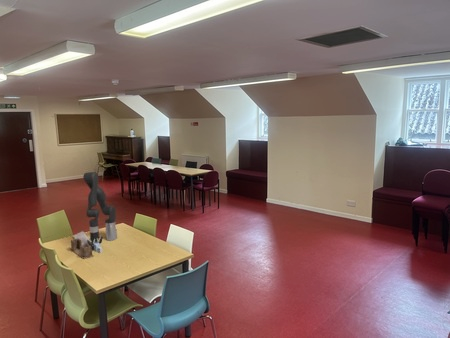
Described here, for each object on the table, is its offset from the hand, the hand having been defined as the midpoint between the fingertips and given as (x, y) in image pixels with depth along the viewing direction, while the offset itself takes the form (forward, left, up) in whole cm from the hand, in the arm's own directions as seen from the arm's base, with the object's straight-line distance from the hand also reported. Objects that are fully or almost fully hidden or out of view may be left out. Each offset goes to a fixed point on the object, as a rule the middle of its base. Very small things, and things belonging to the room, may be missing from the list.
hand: (95, 249), depth 289 cm
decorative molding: (0, -30, -1) cm, 30 cm away
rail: (0, 0, 0) cm, 0 cm away
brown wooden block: (+12, -1, 0) cm, 12 cm away
